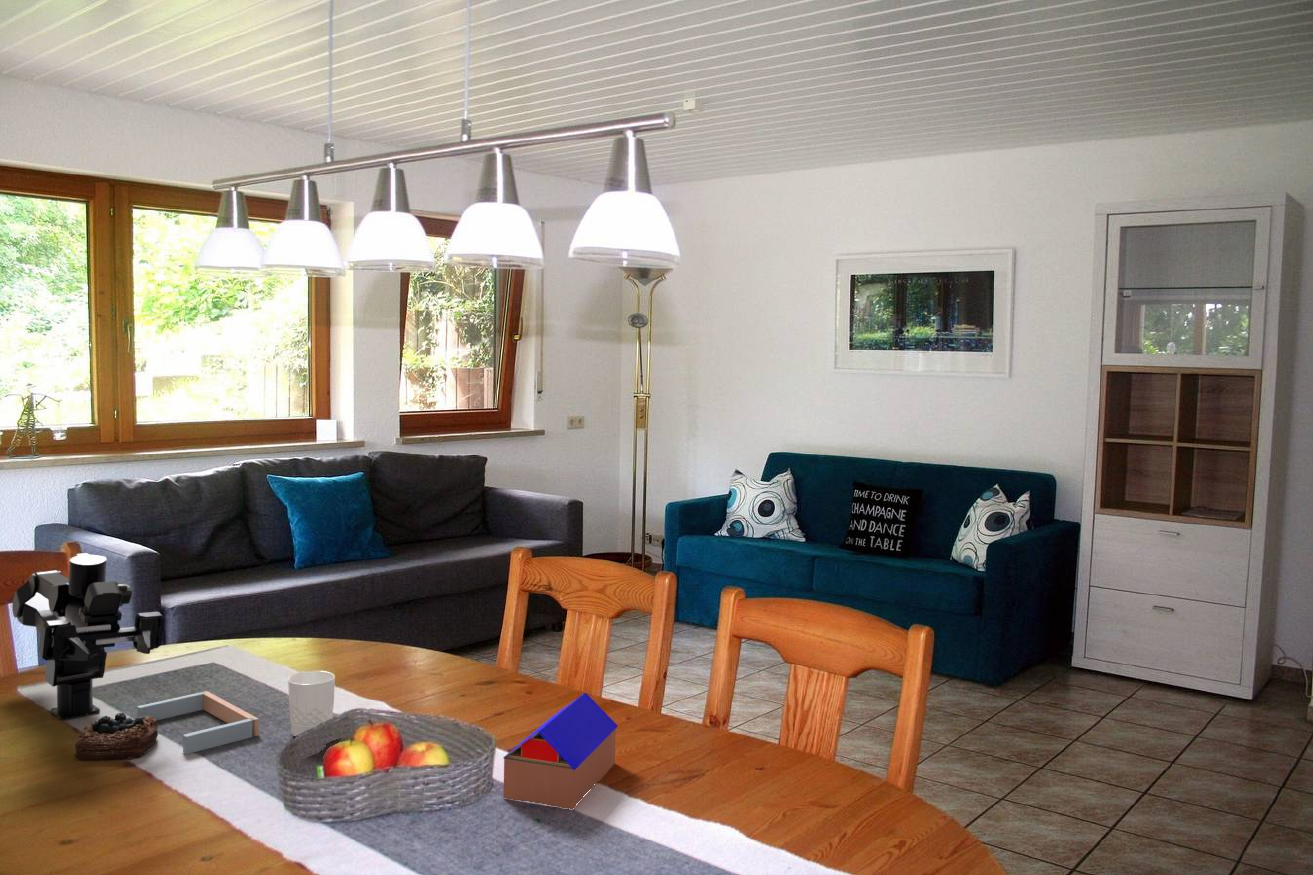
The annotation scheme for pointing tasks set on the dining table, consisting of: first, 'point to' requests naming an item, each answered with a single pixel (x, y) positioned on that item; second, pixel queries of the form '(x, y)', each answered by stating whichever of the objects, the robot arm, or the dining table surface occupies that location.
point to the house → (562, 756)
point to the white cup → (310, 699)
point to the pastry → (116, 738)
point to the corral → (237, 719)
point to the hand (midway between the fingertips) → (119, 654)
